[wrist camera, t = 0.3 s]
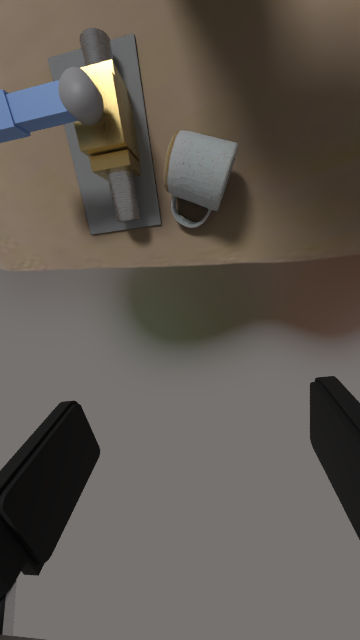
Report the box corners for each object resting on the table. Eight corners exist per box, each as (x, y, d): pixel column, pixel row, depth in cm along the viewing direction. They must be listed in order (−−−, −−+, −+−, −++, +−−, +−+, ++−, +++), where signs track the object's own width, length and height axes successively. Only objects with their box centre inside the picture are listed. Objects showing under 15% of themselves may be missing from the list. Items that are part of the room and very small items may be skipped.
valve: (82, 59, 29) (37, -6, 21) (122, 47, 28) (90, -24, 20) (116, 223, 35) (91, 220, 28) (149, 218, 34) (133, 213, 27)
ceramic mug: (179, 140, 31) (171, 112, 24) (235, 156, 31) (243, 132, 24) (162, 220, 35) (151, 216, 28) (212, 234, 35) (213, 234, 28)
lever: (-12, 107, 24) (-33, 94, 22) (99, 78, 22) (87, 61, 20) (1, 145, 26) (-18, 137, 23) (107, 121, 24) (97, 110, 21)
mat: (49, 59, 29) (47, 58, 29) (134, 35, 27) (133, 33, 27) (92, 234, 37) (91, 234, 36) (161, 224, 35) (160, 224, 35)
